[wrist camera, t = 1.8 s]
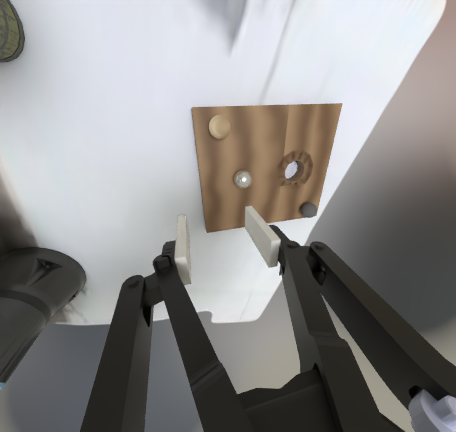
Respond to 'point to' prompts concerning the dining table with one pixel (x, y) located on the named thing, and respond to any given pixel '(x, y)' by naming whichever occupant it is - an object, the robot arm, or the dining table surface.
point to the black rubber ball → (308, 210)
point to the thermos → (10, 32)
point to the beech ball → (219, 127)
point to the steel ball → (243, 179)
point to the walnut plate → (263, 160)
